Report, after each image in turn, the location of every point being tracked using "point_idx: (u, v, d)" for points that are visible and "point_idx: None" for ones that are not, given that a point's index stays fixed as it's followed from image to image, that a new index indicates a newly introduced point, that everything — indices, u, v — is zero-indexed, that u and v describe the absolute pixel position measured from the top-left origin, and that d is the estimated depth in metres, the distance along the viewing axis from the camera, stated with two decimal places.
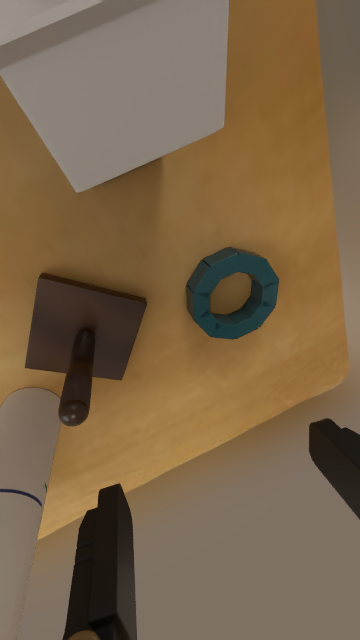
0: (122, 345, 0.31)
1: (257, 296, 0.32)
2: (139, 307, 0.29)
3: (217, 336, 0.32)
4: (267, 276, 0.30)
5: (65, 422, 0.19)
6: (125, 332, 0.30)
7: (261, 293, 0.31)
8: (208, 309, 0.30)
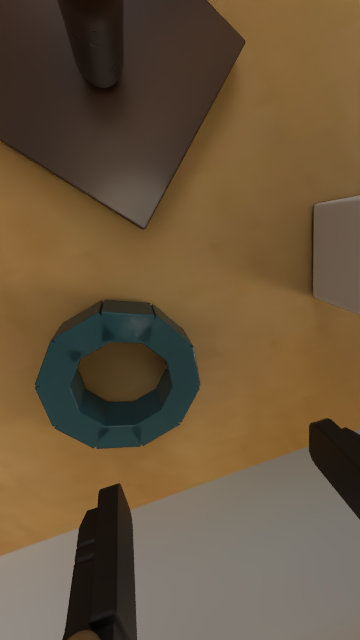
0: (57, 147, 0.14)
1: (114, 416, 0.20)
2: (140, 213, 0.16)
3: (49, 354, 0.16)
4: (152, 430, 0.19)
5: None
6: (88, 166, 0.14)
7: (124, 424, 0.19)
8: (116, 339, 0.17)
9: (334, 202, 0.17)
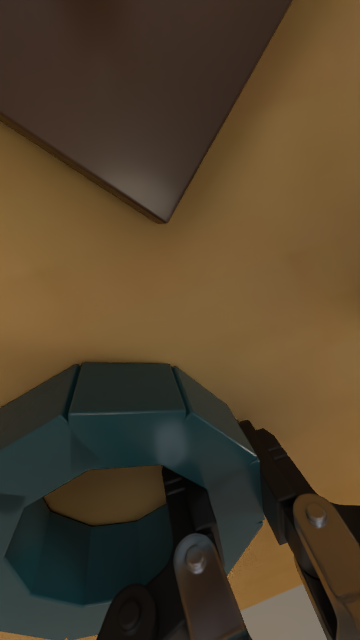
0: None
1: (102, 571, 0.11)
2: (158, 184, 0.07)
3: None
4: None
5: None
6: (24, 50, 0.05)
7: None
8: (103, 464, 0.08)
9: None
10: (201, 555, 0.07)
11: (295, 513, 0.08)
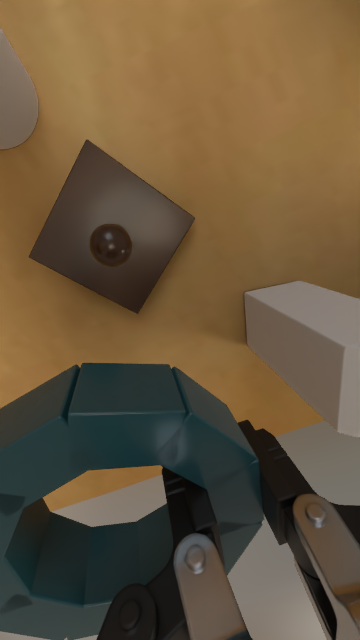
0: (89, 275, 0.25)
1: (102, 572, 0.11)
2: (135, 305, 0.27)
3: None
4: None
5: (110, 236, 0.13)
6: (106, 283, 0.25)
7: None
8: (102, 465, 0.08)
9: (252, 296, 0.29)
10: (201, 555, 0.07)
11: (295, 513, 0.08)
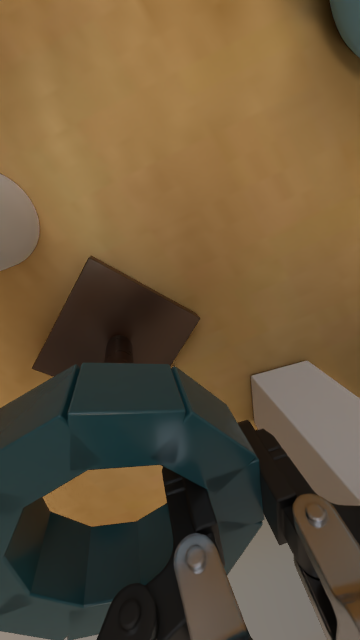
0: None
1: (102, 571, 0.11)
2: None
3: None
4: None
5: None
6: None
7: None
8: (102, 464, 0.08)
9: (259, 385, 0.28)
10: (201, 555, 0.07)
11: (295, 513, 0.08)
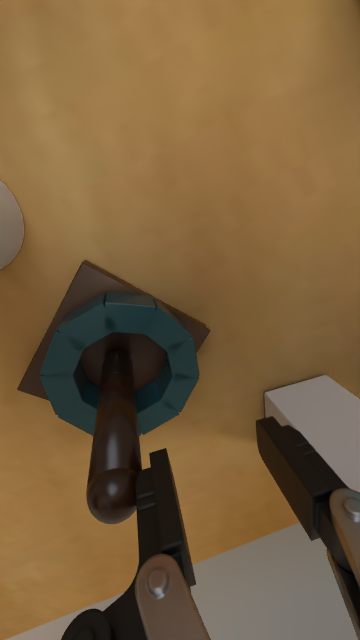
0: None
1: None
2: None
3: (54, 343, 0.16)
4: (152, 419, 0.20)
5: (115, 503, 0.10)
6: None
7: None
8: (118, 330, 0.17)
9: (274, 403, 0.25)
10: (163, 577, 0.07)
11: (332, 508, 0.08)
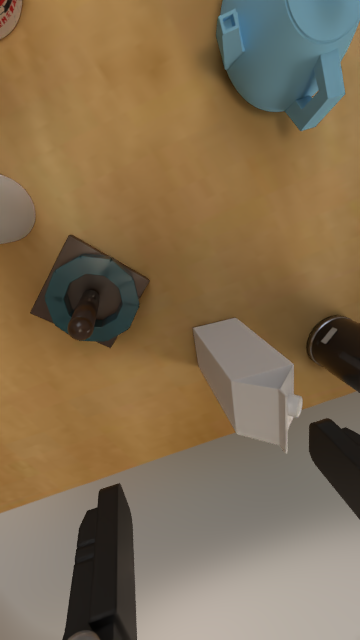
0: None
1: None
2: (108, 342, 0.37)
3: (52, 278, 0.30)
4: (111, 331, 0.33)
5: (79, 327, 0.23)
6: None
7: (95, 326, 0.33)
8: (89, 272, 0.30)
9: (196, 332, 0.38)
10: None
11: None
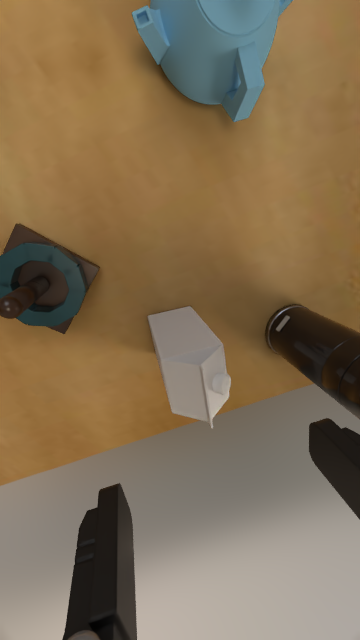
0: None
1: (39, 309, 0.35)
2: (61, 328, 0.38)
3: None
4: (60, 316, 0.35)
5: (5, 305, 0.24)
6: None
7: (43, 311, 0.34)
8: (33, 259, 0.32)
9: (148, 319, 0.40)
10: None
11: None
